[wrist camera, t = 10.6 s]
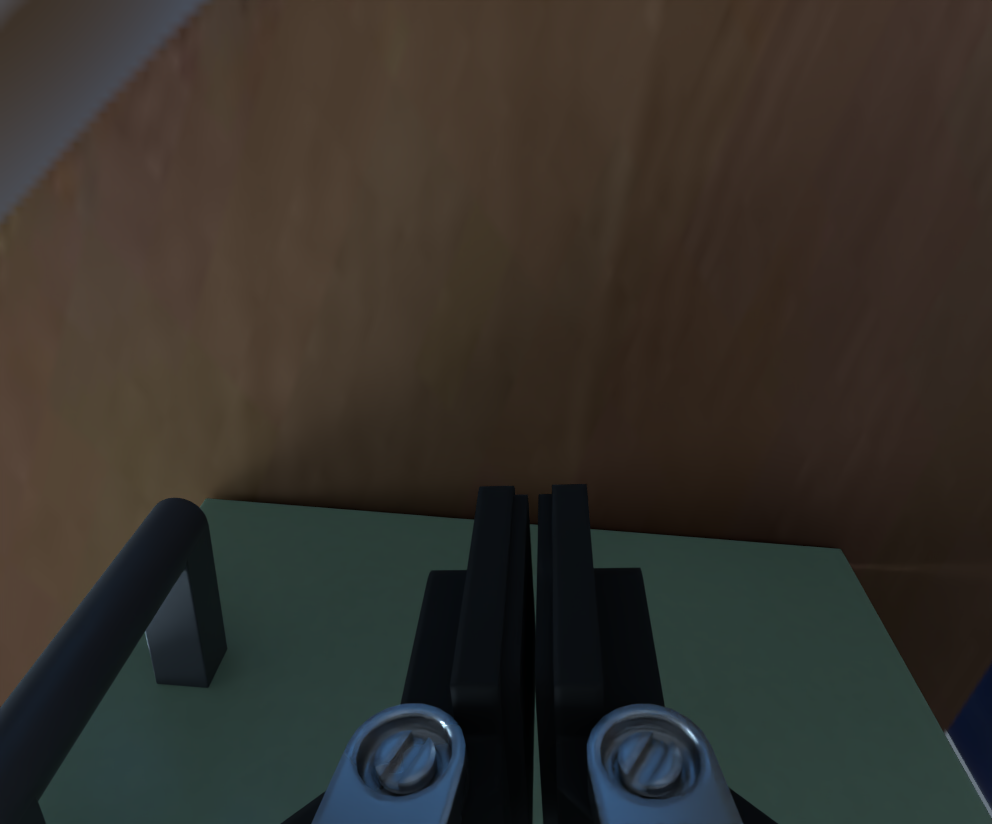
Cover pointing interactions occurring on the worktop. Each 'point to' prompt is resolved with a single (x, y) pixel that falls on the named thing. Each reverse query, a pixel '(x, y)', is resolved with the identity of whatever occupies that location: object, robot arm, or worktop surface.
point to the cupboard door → (386, 655)
